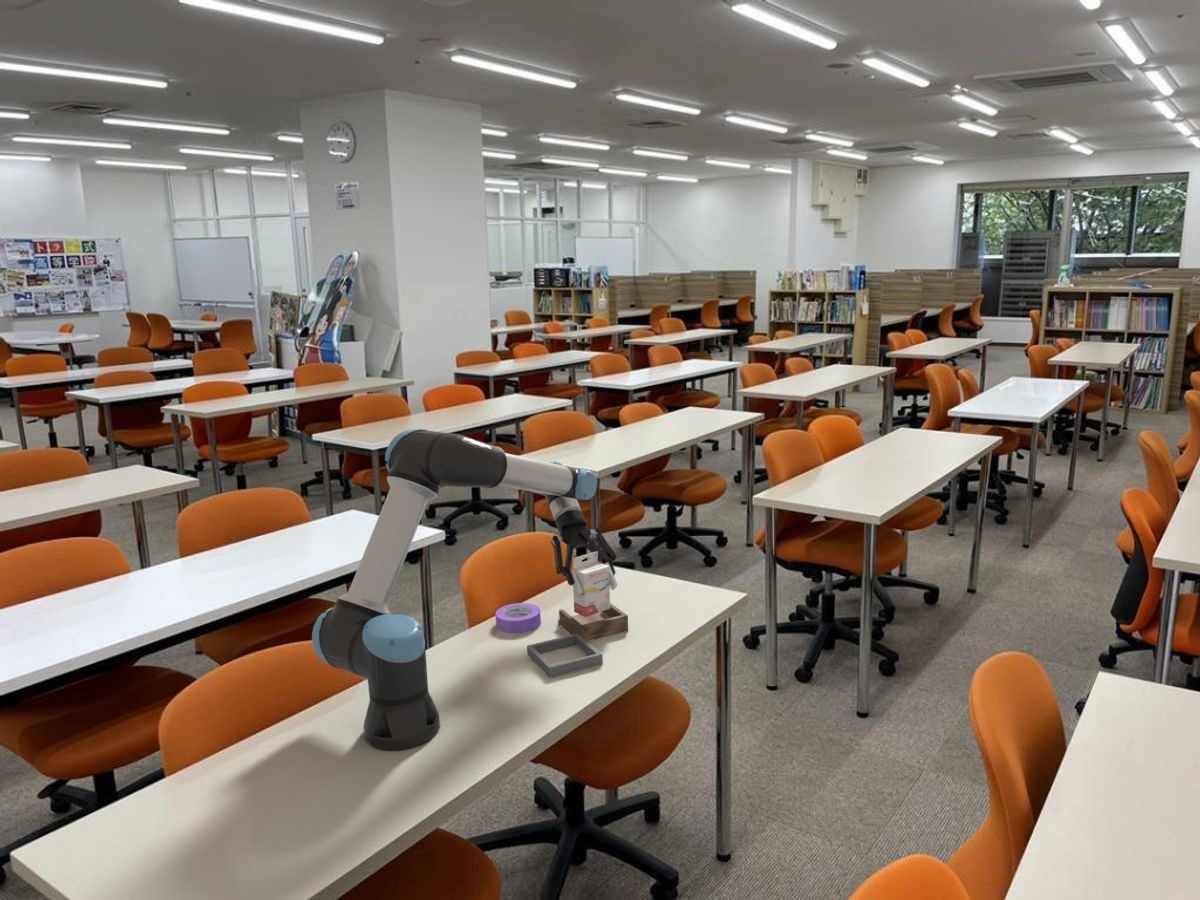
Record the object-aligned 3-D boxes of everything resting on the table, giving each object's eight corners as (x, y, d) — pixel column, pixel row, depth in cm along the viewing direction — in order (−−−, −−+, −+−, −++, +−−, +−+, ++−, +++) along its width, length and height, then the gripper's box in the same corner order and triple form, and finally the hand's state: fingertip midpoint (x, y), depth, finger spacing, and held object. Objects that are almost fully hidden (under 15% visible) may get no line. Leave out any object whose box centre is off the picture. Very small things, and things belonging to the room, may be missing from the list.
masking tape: (488, 631, 223) (487, 617, 222) (507, 614, 234) (506, 600, 233) (530, 636, 220) (529, 622, 219) (547, 618, 230) (547, 604, 230)
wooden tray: (580, 643, 214) (579, 627, 213) (558, 623, 226) (557, 608, 225) (628, 631, 220) (627, 615, 219) (604, 612, 232) (603, 598, 231)
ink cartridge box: (585, 618, 218) (583, 562, 215) (573, 612, 222) (571, 558, 218) (611, 608, 223) (609, 554, 220) (599, 603, 227) (597, 549, 224)
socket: (550, 678, 197) (549, 668, 196) (527, 655, 209) (526, 645, 208) (602, 664, 203) (602, 654, 202) (577, 642, 214) (577, 633, 214)
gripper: (600, 516, 236) (630, 589, 226) (526, 529, 227) (554, 606, 216) (609, 501, 230) (639, 576, 220) (533, 515, 221) (561, 593, 211)
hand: (597, 591), depth 218 cm, fingers closed on ink cartridge box, 9 cm apart
